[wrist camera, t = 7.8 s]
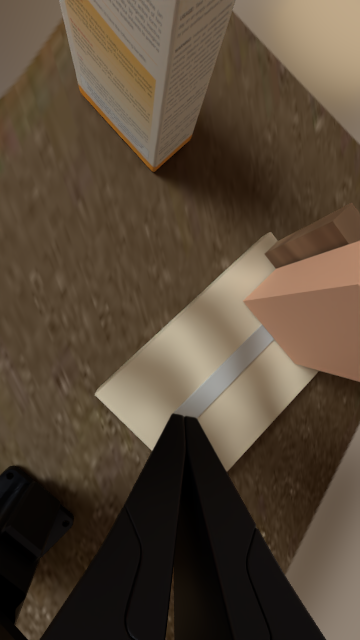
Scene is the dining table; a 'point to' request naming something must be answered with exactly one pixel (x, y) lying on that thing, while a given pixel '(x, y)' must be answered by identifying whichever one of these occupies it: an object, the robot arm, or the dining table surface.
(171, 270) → the dining table surface
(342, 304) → the tan rectangular block
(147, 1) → the supplement box
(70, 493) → the dining table surface
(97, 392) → the track
